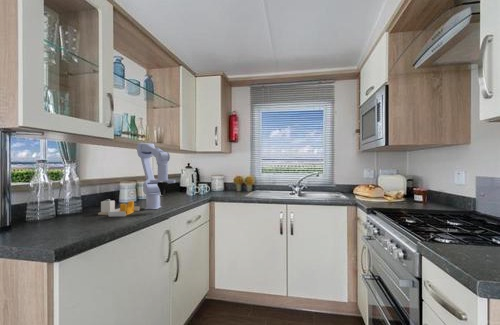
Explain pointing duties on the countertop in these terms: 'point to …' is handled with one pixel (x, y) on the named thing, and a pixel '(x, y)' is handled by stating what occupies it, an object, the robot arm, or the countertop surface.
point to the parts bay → (121, 212)
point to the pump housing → (107, 207)
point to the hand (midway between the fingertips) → (162, 195)
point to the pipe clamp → (127, 207)
